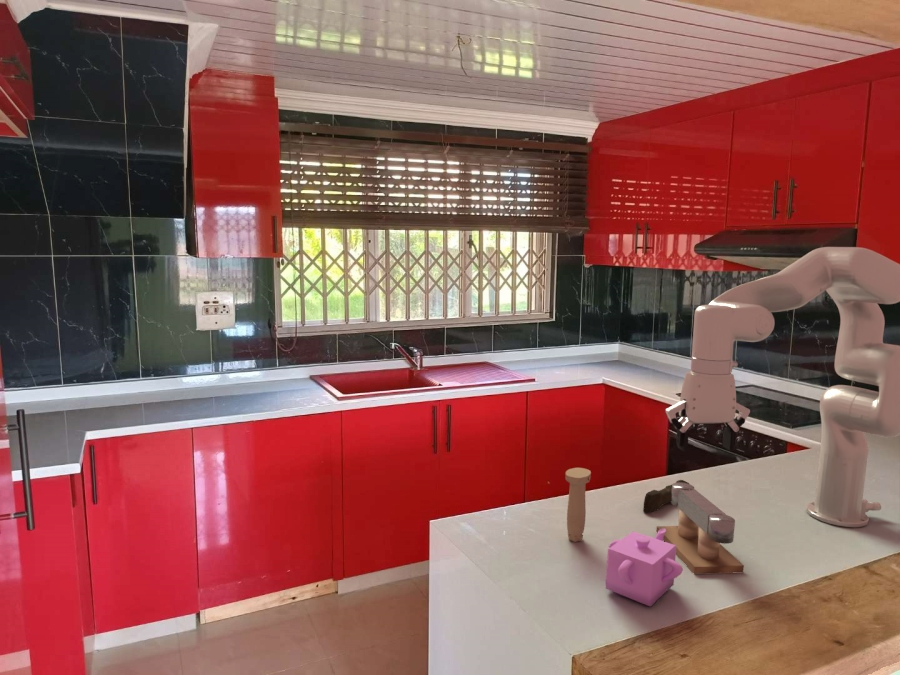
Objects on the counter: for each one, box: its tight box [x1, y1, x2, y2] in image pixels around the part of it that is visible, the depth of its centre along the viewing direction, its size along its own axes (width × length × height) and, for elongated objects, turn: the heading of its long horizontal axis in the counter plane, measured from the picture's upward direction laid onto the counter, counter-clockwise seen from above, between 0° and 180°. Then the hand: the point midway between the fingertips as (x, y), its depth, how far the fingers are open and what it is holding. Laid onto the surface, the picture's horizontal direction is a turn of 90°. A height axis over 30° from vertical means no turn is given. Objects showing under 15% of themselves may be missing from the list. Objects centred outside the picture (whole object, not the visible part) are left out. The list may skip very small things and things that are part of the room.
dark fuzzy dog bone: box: [642, 479, 690, 513], centre depth 158 cm, size 19×4×5 cm, turn 129°
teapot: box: [605, 529, 684, 607], centre depth 116 cm, size 18×14×10 cm
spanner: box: [670, 482, 736, 545], centre depth 131 cm, size 5×21×4 cm, turn 5°
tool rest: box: [655, 508, 745, 575], centre depth 132 cm, size 10×18×7 cm, turn 5°
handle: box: [565, 467, 592, 543], centre depth 136 cm, size 5×6×15 cm
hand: (705, 449), depth 129 cm, fingers open, 9 cm apart
